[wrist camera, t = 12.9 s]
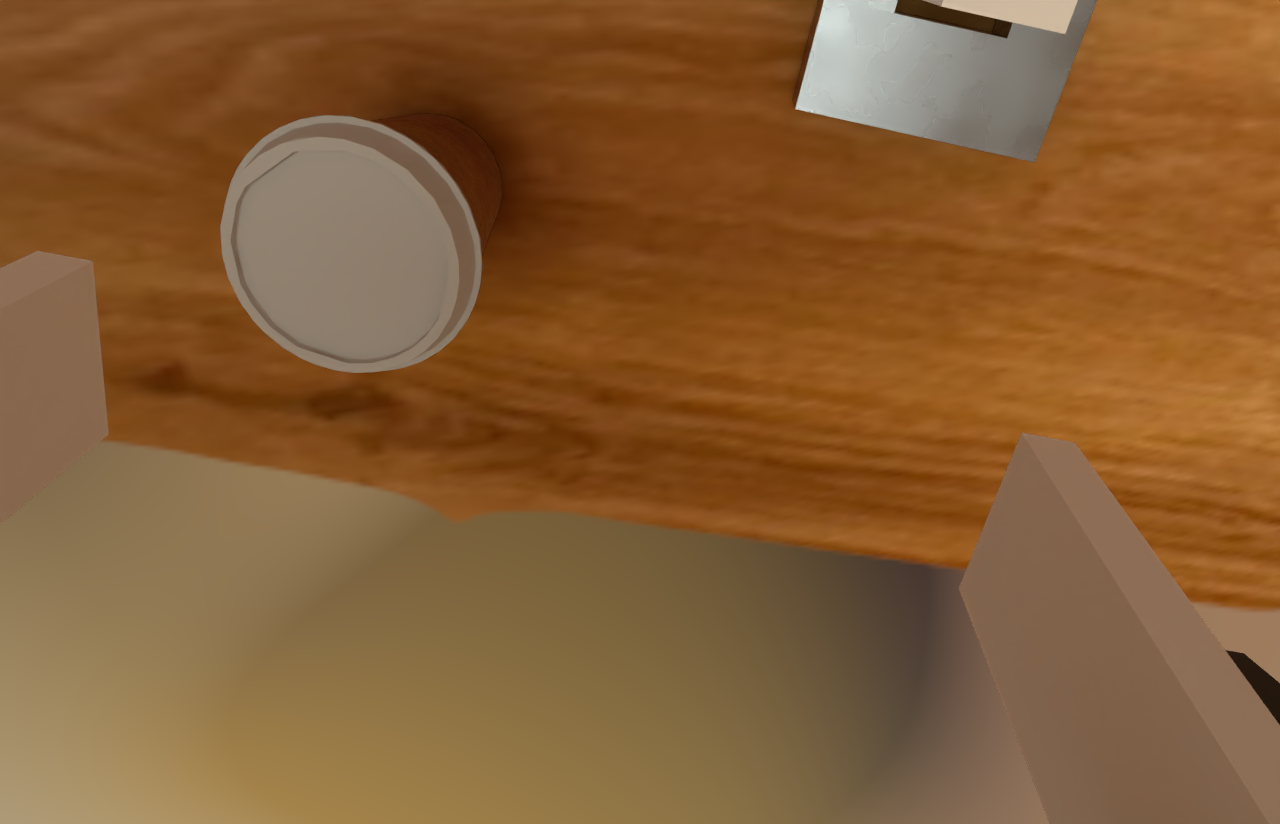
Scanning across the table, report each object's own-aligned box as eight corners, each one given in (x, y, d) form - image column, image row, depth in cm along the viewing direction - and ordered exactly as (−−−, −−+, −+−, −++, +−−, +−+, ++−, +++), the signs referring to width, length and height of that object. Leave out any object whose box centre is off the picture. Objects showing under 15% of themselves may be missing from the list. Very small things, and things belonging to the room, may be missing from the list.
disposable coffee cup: (526, 71, 42) (453, 116, 31) (545, 280, 46) (487, 384, 35) (316, 78, 43) (175, 126, 32) (354, 283, 47) (241, 385, 36)
